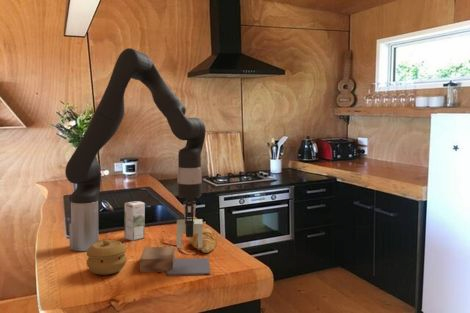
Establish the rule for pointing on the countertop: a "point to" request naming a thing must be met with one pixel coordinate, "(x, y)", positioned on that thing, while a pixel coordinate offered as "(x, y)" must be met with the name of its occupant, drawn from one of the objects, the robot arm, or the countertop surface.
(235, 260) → the countertop surface
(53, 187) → the countertop surface
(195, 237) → the croissant
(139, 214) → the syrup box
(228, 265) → the countertop surface
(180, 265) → the felt pad
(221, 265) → the countertop surface
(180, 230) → the notched cream block
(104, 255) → the pot
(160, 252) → the tan square slab
